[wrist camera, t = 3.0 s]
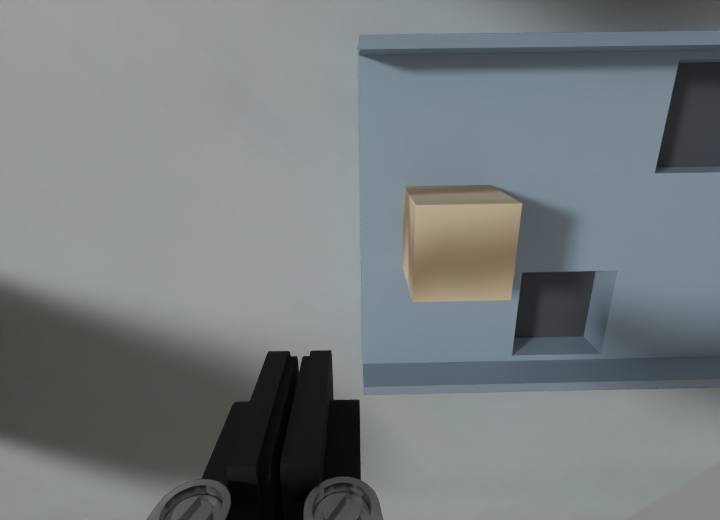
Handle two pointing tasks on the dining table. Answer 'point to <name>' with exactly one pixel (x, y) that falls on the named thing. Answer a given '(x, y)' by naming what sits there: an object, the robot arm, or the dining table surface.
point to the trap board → (548, 208)
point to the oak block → (459, 242)
